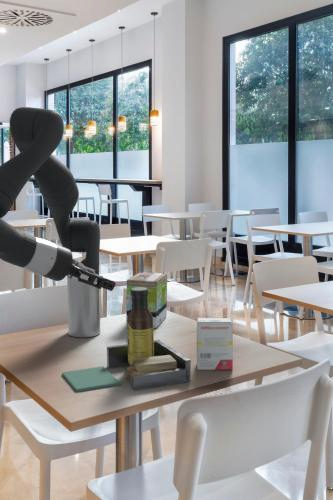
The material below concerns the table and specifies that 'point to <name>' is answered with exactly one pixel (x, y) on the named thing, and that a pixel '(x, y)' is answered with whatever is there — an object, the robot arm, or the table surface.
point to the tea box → (150, 294)
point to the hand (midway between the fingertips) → (104, 281)
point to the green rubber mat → (90, 378)
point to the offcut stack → (151, 365)
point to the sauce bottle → (140, 327)
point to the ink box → (214, 344)
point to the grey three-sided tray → (155, 379)
